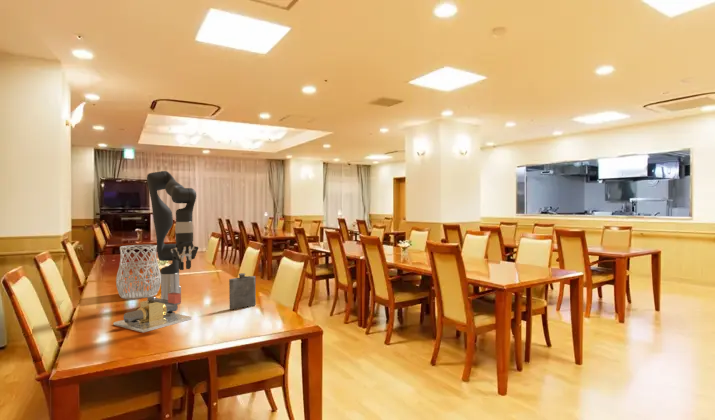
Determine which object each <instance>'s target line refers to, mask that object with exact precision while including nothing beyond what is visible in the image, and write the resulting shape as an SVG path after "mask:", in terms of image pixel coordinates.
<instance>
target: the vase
mask: <svg viewBox="0 0 715 420" xmlns="http://www.w3.org/2000/svg"><path fill="white" fill-rule="evenodd" d="M145 249H146V251H145ZM135 250H139V251H137V252H136V251H135ZM128 251H129V252H128ZM119 253H120V258H119V259H120V260H119V266H118V269H117V273H116V277H115V285H116V289H117V293H118V295H119V297H120V298H121V299H124V300H130V299H131V300H134V299H135V300H136V299H145V298H148V297H152V296H156V295H157V294H158V293H159V291H160V289H161V269H160V267H159V263H158V259H157V258H158V257H157V244H133V245H132V244H131V245H122V246H121V245H120V246H119ZM140 253H141V254H142V255H143V256H140ZM148 253H149V254H150V256H149V254H148ZM131 254H133V255H134V256H133V257H132V256H131ZM144 259H146V260H144ZM127 260H128V261H129V262H127ZM135 260H137V262H136V261H135ZM150 269H151V271H150ZM141 270H142V273H141V272H140V271H141ZM130 271H132V273H131V274H130ZM147 288H148V289H147Z"/></svg>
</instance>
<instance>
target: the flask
mask: <svg viewBox="0 0 715 420" xmlns="http://www.w3.org/2000/svg"><path fill="white" fill-rule="evenodd" d="M245 275H246V273H245V272H244V273H239V274H238V276H239V277H235V278H234V277H233V278H229V280H228V282H229V284H228V285H229V287H228V289H229V290H228V291H229V292H228V293H229V298H228V299H229V310H230V309H235V310H238V309H237V308H239V309H243V308H242V307H245V308H248V307H247V306H252V307H255V305H256V303H257V300H256V275H252V276H250V275H246V276H245Z"/></svg>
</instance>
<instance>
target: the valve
mask: <svg viewBox="0 0 715 420" xmlns="http://www.w3.org/2000/svg"><path fill="white" fill-rule="evenodd" d="M177 311H178V305H169V304H164V303H159V302H153V301H151V302H149V301H147V300H143V301H139V307H138V308H137V309H136V310H133V311H130V312H129V311H128V312H125V313H124V314H123V320H117V321H114V322H113V326H116V327H119V328H120V327H121V328H125V329H128V330H132V331H135V332H140V333H147V332H150V331H153V330H154V331H155V330H157V329H161V328H165V327H169V326H173V325H175V324H179V323H182V322H186V321H189V320H192V316H190V315H184V314H179V313H176V312H177Z"/></svg>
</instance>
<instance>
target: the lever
mask: <svg viewBox="0 0 715 420" xmlns="http://www.w3.org/2000/svg"><path fill="white" fill-rule="evenodd" d="M146 298H147V300H146V301H149V302H151V301H153V302H159V303H164V304H169V305H177V306H178V305H179V304H182V292H181V293H175V292H173V293H168V300H165V299H161V298H157V296H156V295H154V296H151V297H146Z"/></svg>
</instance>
